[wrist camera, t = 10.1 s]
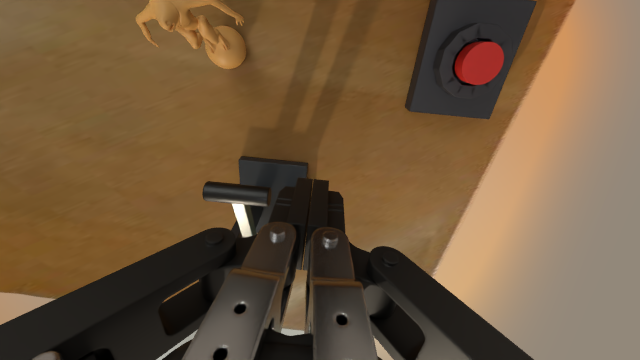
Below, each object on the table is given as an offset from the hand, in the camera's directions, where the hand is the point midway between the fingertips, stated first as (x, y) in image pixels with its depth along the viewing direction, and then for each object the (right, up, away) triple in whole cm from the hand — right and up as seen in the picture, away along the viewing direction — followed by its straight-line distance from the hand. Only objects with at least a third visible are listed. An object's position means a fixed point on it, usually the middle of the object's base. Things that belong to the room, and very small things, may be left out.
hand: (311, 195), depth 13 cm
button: (+15, +12, +12) cm, 23 cm away
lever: (-6, -3, +13) cm, 14 cm away
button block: (+15, +14, +16) cm, 26 cm away
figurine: (-9, +16, +16) cm, 24 cm away
